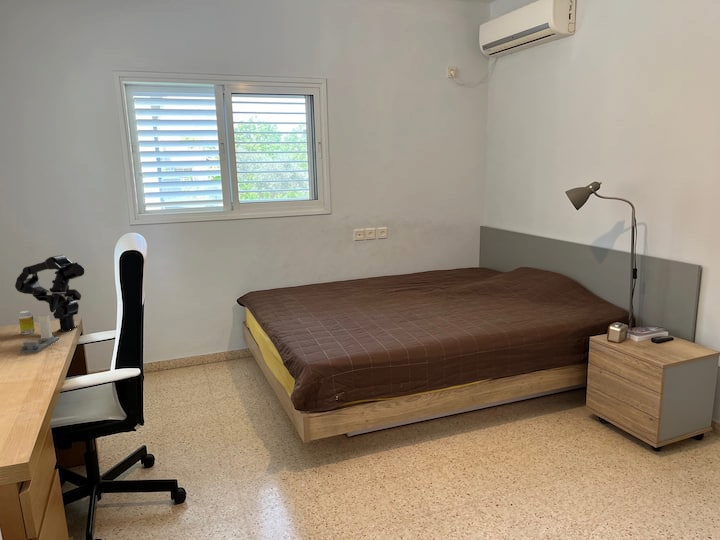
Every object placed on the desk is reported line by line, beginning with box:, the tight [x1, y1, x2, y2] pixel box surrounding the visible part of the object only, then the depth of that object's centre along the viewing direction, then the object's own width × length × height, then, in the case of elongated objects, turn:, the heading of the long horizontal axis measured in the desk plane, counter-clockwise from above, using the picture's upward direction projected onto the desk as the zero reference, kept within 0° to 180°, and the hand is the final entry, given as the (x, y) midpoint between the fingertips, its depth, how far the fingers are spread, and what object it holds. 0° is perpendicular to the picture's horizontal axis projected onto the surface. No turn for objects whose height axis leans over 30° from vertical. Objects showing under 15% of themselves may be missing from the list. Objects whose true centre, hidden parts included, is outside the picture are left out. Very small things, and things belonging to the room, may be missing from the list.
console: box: [19, 336, 60, 354], centre depth 212 cm, size 16×7×4 cm, turn 2°
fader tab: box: [38, 314, 55, 341], centre depth 216 cm, size 4×4×10 cm
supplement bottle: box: [17, 309, 36, 335], centre depth 231 cm, size 6×6×10 cm
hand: (51, 311), depth 221 cm, fingers closed
